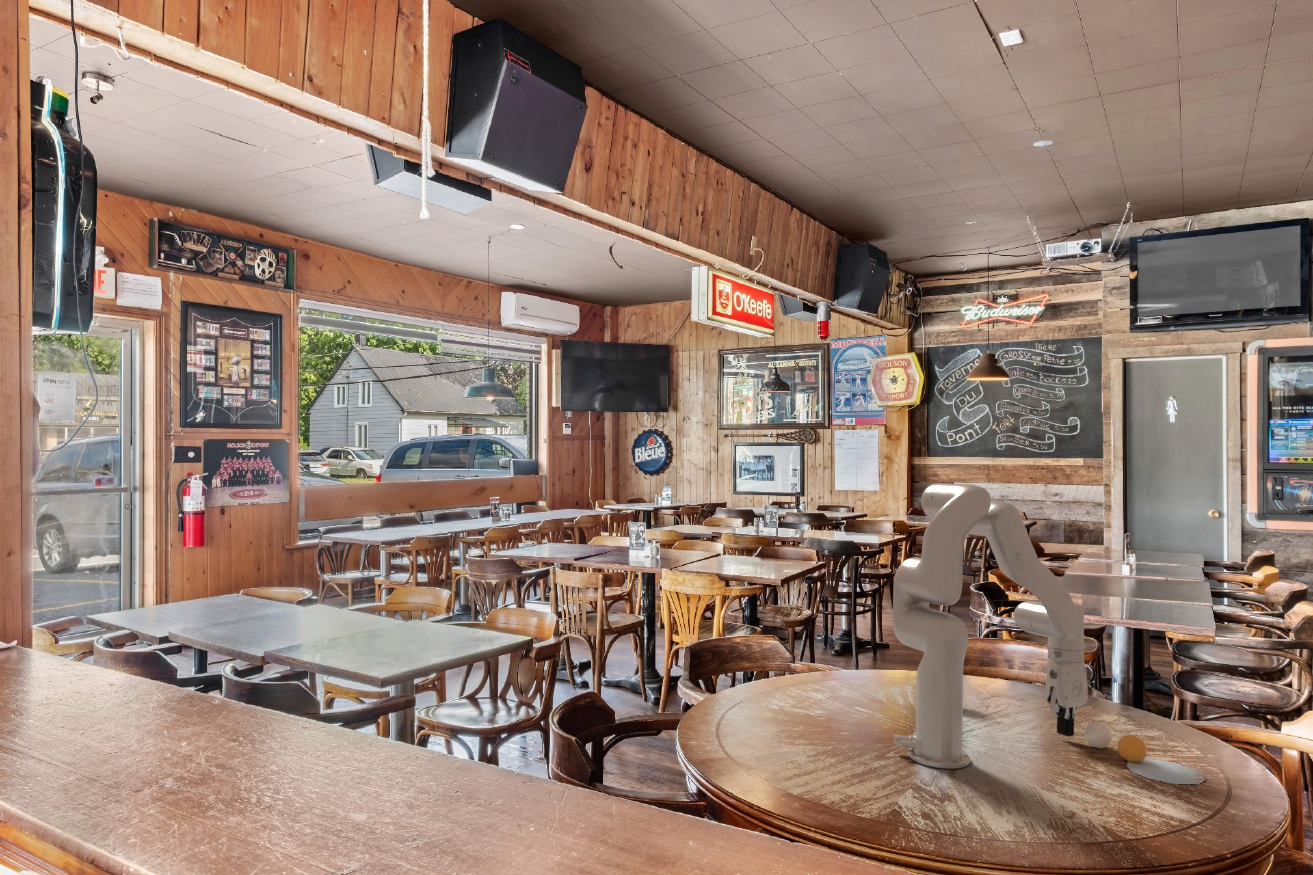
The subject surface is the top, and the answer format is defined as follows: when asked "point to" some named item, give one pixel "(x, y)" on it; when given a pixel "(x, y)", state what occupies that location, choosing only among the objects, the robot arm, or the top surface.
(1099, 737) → the cue ball
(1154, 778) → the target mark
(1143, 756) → the orange ball
